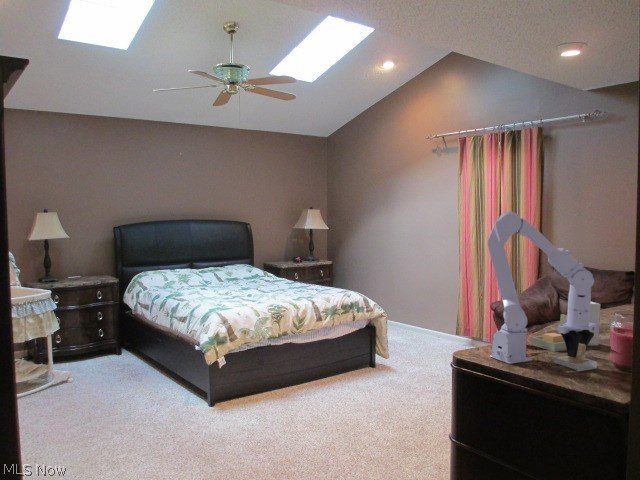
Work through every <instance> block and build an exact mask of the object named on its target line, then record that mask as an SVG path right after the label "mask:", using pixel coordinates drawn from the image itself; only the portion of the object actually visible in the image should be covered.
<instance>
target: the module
mask: <svg viewBox="0 0 640 480" xmlns="http://www.w3.org/2000/svg"><path fill="white" fill-rule="evenodd" d="M542 336H543V340H545V341H549V342H552V343H558V342H563V337H562V335H560V334H559V333H556V332H550V333H549V332H547V333H543V334H542Z"/></svg>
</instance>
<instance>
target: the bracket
mask: <svg viewBox="0 0 640 480" xmlns="http://www.w3.org/2000/svg"><path fill="white" fill-rule="evenodd" d="M553 361H554V363H555V364H558V365H560V366H563V367H566V368H570V369H572V370H573V371H574V372H583V371H590V370H595V369H597V366H598V362H597V361H596V360H592V359H589V358H586V357H585V362H580V363H575V362H572V361H569V356H568V355H563V356H557V357H555V356H554V360H553Z"/></svg>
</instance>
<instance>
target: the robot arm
mask: <svg viewBox="0 0 640 480" xmlns="http://www.w3.org/2000/svg"><path fill="white" fill-rule="evenodd" d="M515 233H516V235H520V236H522V237H526V238H527V239H529V241H531V242H532V243H533V244H535V246H537V247H538V248H539V250H541V251H543V253H545V254H546V255H547V263H549V264H550V265H551V266H552V267H553V268H554V269H555V270H556V271H557V272H558V273H560V275H561V276H562V277H564V278H567V281H568V283H569V291H568V296H567V297H568V298H567V314H566V315H567V323H565V324H563V325H560V324H559V325H557V333H558V334H559V333H561V335H562V337H563V339H564V341H565V344H566V348H567V350H566V351H567V353H566V354H567V356H570V357H574V358H575V357H576V355H577V350H578V345H579V343H580V344H584V345H586V349H587V348H588V346H589V345H588V344H589V342H590V340H591V339H592V337H593V336H594V333H593V332H589V330H597V324H595V323H589V318H590V303H591V300H592V294H591V293H592V287H593V285H594V284H595V279H594V274H593V273H592V272H591V271H589V270H588V269H586V267H584V266H585V264H584V263H583V262H579V261H578V260H577V259H576V258H575V257H574V256H573V255H571V254H572V252H571V251H570V250H569V249H565V248H563V247H556V246H554V244H552V242H550V240H549V239H547V237H545V235H543V234H542V233H541V232H540V230H538V229H537V228H536V227H535V226H534V225H533V224H532V223H530V222H529V221H527V220H526V219H524V217H523V218H522V217H520V215H519V214H518V213H517V212H514V211H507V212H504V213H502V214H500V215H499V217H498V218H497V219H496V220H495V222H494V224H493V226H492V229H491V231H490V234H489V236H488V239H487V242H486V243H487V248H488V251H489V255H490V258H491V263H492V267H493V270H494V275H495V278H496V282H497V285H498V289H499V293H500V297H501V300H502V304H503V313H502V317H503V320H504V323H503V325H501V328H500V330H498V331H496V332H494V334H493V336H492V347H491V354H490V355H489V357H490V358H492V359H496V360H498V361H501V362H503V363H507V364H510V365H512V364H519V363H525V362H532V361H533V359H532V358H529V357H527V356H526V354H527V338H528V328H526V327H527V325H528V317H527V315H526V312H525V310H524V309H523V308H522V307H521V304H520V301H519V297H518V295H517V290H516V287H515V283H514V279H513V278H514V277H513V276H512V271H511V267H510V263H509V260H508V256H507V253H506V249H505V245H506V244H507V242H508V241H509V239H510V237H511V236H513V235H514V234H515Z"/></svg>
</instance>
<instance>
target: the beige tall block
mask: <svg viewBox="0 0 640 480" xmlns="http://www.w3.org/2000/svg"><path fill="white" fill-rule="evenodd" d="M586 352H587V348H586V345H584V344H580V343H579V345H578V350H577V355H576V357H575V358H574V357H570V356H569V361H572V362H575V363H580V362H585V358H586Z"/></svg>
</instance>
